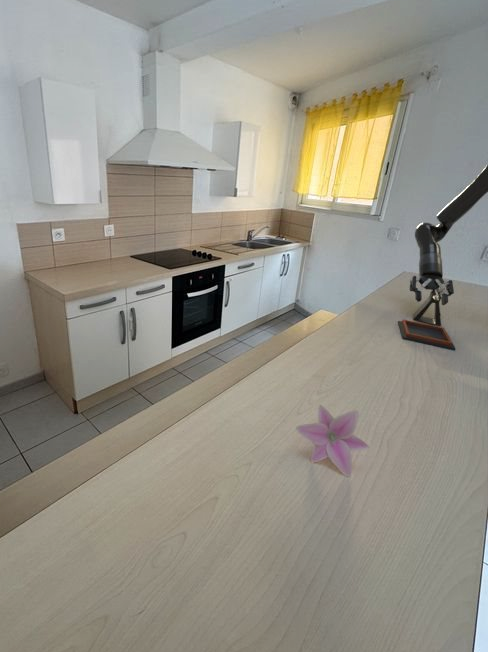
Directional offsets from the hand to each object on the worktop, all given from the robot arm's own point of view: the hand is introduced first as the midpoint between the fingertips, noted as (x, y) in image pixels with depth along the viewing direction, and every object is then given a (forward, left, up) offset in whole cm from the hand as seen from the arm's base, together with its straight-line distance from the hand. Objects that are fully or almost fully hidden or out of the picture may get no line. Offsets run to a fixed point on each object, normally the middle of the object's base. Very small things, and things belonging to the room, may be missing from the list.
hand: (431, 302), depth 125 cm
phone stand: (0, +1, -8) cm, 8 cm away
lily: (+30, +91, -8) cm, 96 cm away
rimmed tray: (+3, +17, -7) cm, 19 cm away
